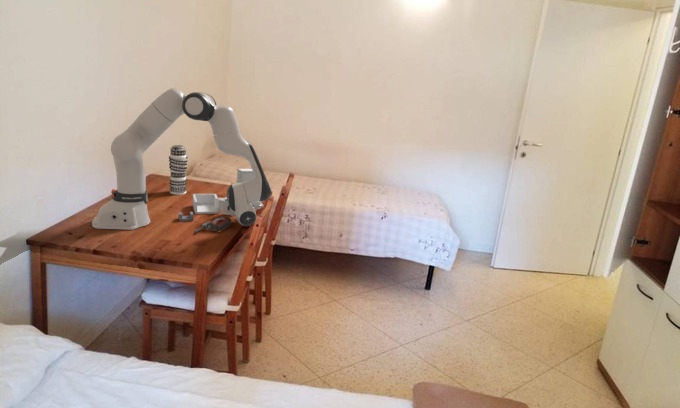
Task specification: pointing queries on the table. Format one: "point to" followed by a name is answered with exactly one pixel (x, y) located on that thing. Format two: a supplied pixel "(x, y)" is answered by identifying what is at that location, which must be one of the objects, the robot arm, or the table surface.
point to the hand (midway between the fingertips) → (236, 198)
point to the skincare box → (245, 175)
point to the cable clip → (185, 217)
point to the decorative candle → (178, 170)
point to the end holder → (205, 204)
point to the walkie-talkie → (215, 224)
